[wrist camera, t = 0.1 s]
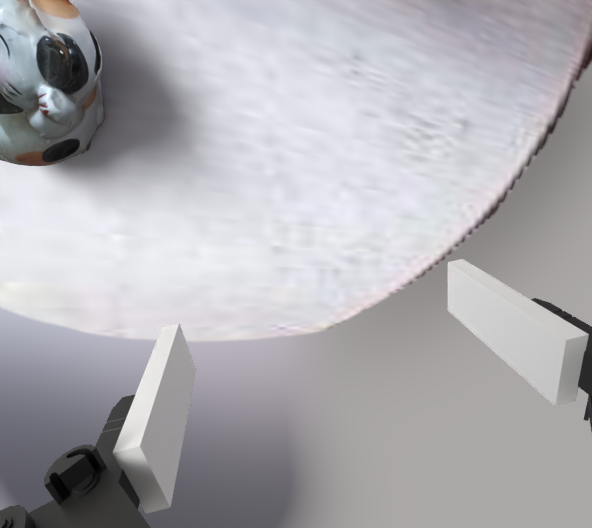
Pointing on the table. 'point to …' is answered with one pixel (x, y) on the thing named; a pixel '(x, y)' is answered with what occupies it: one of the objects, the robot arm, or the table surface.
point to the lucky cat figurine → (47, 82)
